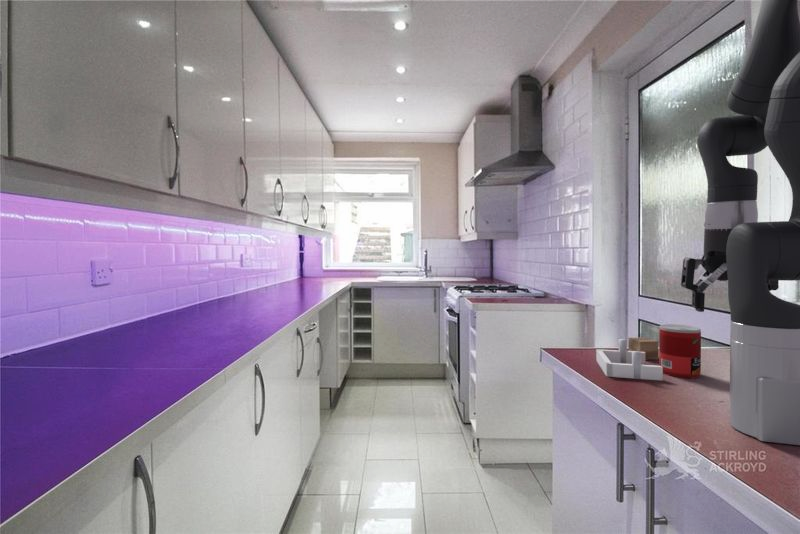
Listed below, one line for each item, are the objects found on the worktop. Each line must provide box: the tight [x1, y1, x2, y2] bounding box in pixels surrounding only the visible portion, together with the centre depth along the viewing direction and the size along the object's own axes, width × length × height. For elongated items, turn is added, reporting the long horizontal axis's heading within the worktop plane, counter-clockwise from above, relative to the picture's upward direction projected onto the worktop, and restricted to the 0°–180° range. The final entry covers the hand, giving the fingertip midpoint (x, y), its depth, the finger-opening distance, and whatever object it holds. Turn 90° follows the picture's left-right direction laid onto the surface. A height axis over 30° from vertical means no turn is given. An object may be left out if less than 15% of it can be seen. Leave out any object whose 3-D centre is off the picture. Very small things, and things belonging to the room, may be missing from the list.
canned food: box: [658, 323, 702, 379], centre depth 91 cm, size 8×8×11 cm
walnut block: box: [627, 336, 659, 361], centre depth 106 cm, size 5×5×5 cm
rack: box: [595, 338, 664, 382], centre depth 95 cm, size 15×11×6 cm
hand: (726, 311), depth 73 cm, fingers open, 8 cm apart
